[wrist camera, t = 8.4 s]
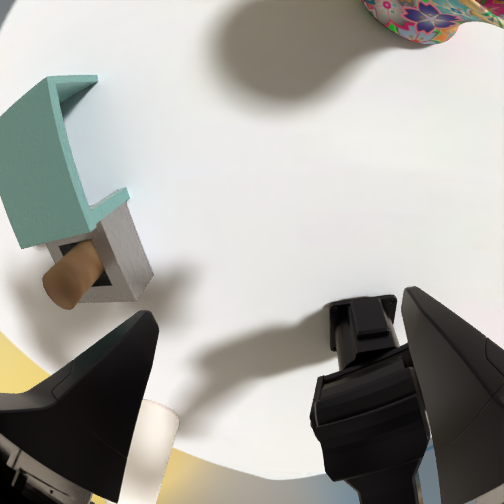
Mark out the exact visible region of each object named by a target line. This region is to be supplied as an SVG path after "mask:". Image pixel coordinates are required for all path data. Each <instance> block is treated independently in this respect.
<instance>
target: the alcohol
mask: <svg viewBox="0 0 504 504" xmlns="http://www.w3.org/2000/svg"><path fill="white" fill-rule="evenodd" d="M179 423H180V422H179V419H178V416H177V414H176V413H175V412H174V411H173V410H171V409H170V408H168V407H166V406H164V405H162V404H160V403H157V402H155V401H151V400H145V399H143V400H142V403H141V407H140V411H139V414H138V418H137V422H136V426H135V430H134V434H133V438H132V442H131V446H130V450H129V454H128V458H127V463H126V468H125V472H124V477H123V481H122V486H121V491H120V496H119V501H118V504H156V501H157V498H158V494H159V491H160V487H161V484H162V480H163V477H164V473H165V470H166V466H167V463H168V460H169V456H170V453H171V450H172V446H173V443H174V440H175V436H176V433H177V430H178V427H179ZM104 500H105V502H106V504H116V503H113V502H111V501H109V500H107V499H104Z"/></svg>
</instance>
